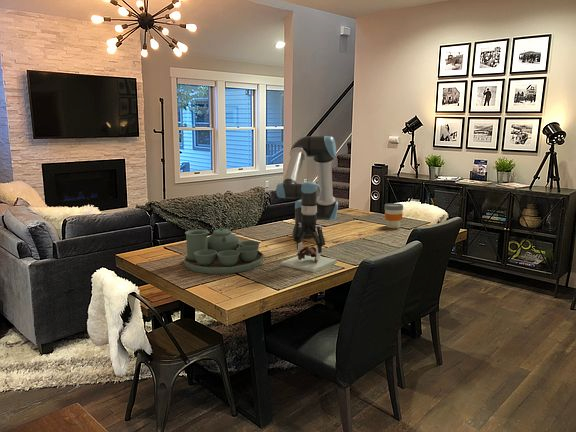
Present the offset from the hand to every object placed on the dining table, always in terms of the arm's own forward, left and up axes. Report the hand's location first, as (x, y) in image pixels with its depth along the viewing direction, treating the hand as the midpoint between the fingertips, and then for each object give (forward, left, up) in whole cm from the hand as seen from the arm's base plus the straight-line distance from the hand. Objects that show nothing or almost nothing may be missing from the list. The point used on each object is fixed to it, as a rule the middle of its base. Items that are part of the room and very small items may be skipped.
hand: (309, 257), depth 231 cm
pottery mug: (0, 0, -2) cm, 2 cm away
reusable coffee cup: (-4, +104, -4) cm, 104 cm away
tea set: (-36, -23, -4) cm, 43 cm away
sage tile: (0, 0, -3) cm, 3 cm away
